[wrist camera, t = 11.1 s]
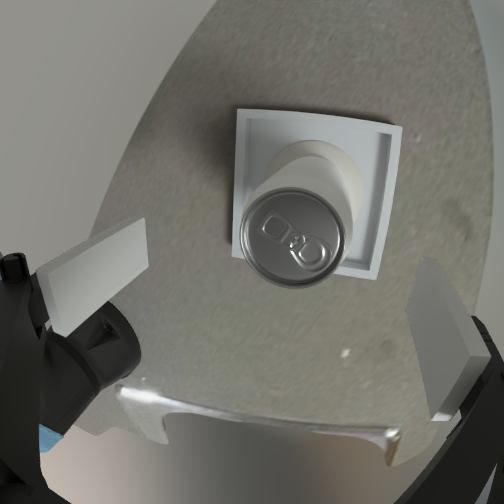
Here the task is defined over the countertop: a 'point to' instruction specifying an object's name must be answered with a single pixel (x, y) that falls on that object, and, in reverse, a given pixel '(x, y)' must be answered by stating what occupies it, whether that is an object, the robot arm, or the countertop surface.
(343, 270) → the flange tray
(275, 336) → the countertop surface
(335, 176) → the can
